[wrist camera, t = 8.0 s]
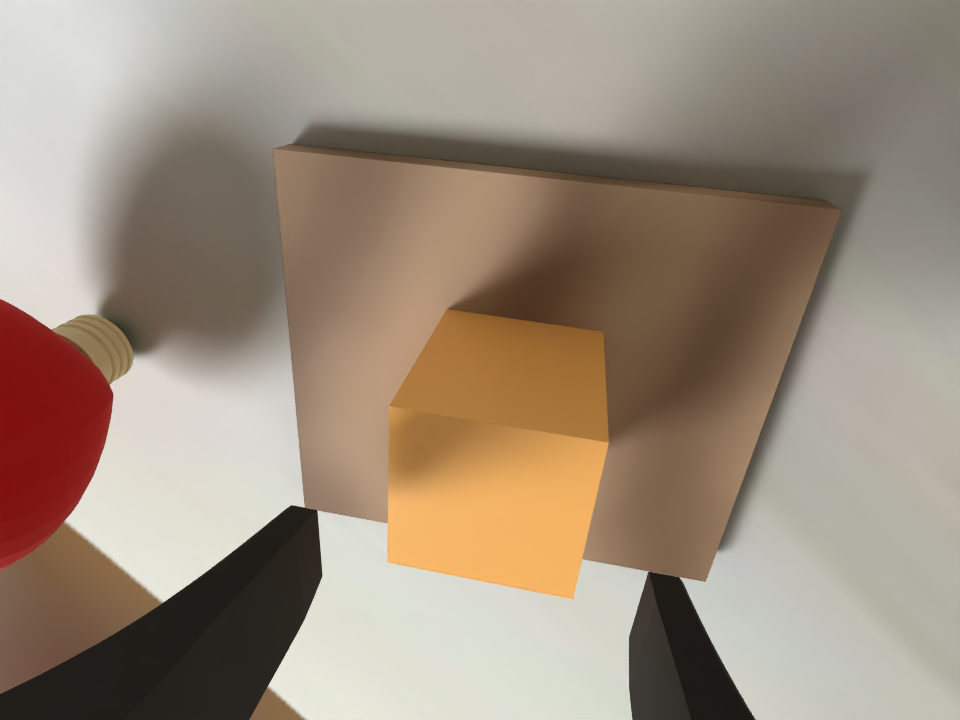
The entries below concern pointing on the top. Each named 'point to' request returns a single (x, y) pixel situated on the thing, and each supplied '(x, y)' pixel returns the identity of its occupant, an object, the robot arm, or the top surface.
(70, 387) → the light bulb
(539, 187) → the post board
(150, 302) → the top surface
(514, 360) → the orange wooden cube
